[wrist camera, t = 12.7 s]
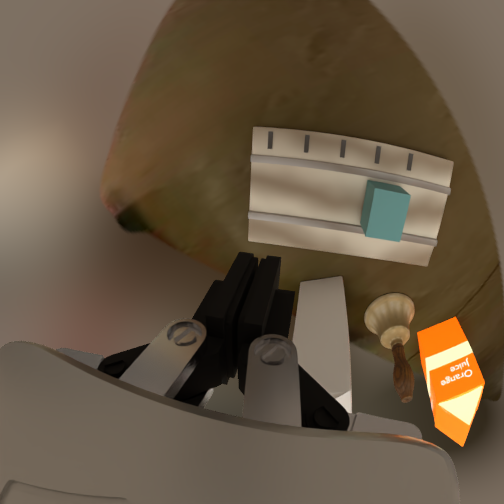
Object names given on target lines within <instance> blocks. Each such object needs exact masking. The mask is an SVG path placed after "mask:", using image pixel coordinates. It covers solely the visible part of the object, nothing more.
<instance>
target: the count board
mask: <svg viewBox="0 0 504 504" xmlns="http://www.w3.org/2000/svg"><path fill="white" fill-rule="evenodd" d="M251 162H252V165H251V188H250V211H249V212H248V219H249V235H248V241H253V242H261V243H268V244H276V245H283V246H290V247H298V248H305V249H312V250H319V251H326V252H333V253H340V254H347V255H354V256H361V257H368V258H375V259H382V260H389V261H395V262H402V263H409V264H415V265H422V266H427V265H428V262H429V259H430V256H431V253H432V250H433V247H434V246H436V245H437V239H436V237H437V234H438V230H439V227H440V223H441V219H442V216H443V212H444V207H445V203H446V199H447V195H450V191H451V188H449V185H450V180H451V175H452V169H453V163H454V162H452V161H449V160H447V159H443V158H440V157H437V156H433V155H430V154H426V153H423V152H419V151H415V150H411V149H407V148H403V147H399V146H394V145H390V144H385V143H381V142H376V141H371V140H366V139H360V138H354V137H349V136H342V135H336V134H329V133H322V132H314V131H305V130H295V129H284V128H272V127H253V143H252V155H251ZM367 180H371V181H377V182H382V183H387V184H392V185H397V186H400V187H402V188H403V189H404V190H405V191H406V192H408V193H409V194H410V195H411V198H410V202H409V207H408V211H407V216H406V220H405V224H404V228H403V232H402V236H401V240H400V242H395V241H389V240H383V239H377V238H370V237H365V234H364V232H363V229H362V227H361V224H360V220H361V215H362V210H363V204H364V198H365V193H366V186H367Z"/></svg>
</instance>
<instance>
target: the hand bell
mask: <svg viewBox="0 0 504 504" xmlns="http://www.w3.org/2000/svg"><path fill="white" fill-rule="evenodd" d="M414 309H415V308H414V303H413V301H412V300H411V299H410V298H409V297H408V296H406V295H404V294H401V293H389V294H385V295H382V296H380V297H378V298H377V299H375V300H374V301H373V302H372V303H371V304H370V305H369V306H368V308H367V310H366V312H365V315H364V321H365V324H366V326H367V328H368V329H369V330H370V331H371V332H373V333H375V334H377V335H378V336H379V338H380V341H381V344H382V345H383V346H384V347H386V348H389V349H392V352H393V357H394V361H395V367H394V372H393V379H394V386H395V389H396V391H397V393H398V394H399V396H400V398H401V400H402V402H404V403H406V402H409V401H410V400H412V393H413V388H414V376H413V372H412V369H411V367H410V365H409V364H408V362H407V360H406V358H405V353H404V346H403V345H404V344H405V343H406V342H407V341H408V339H409V336H410V331H409V324H410V322H411V320H412V318H413V316H414V311H415V310H414Z"/></svg>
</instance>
